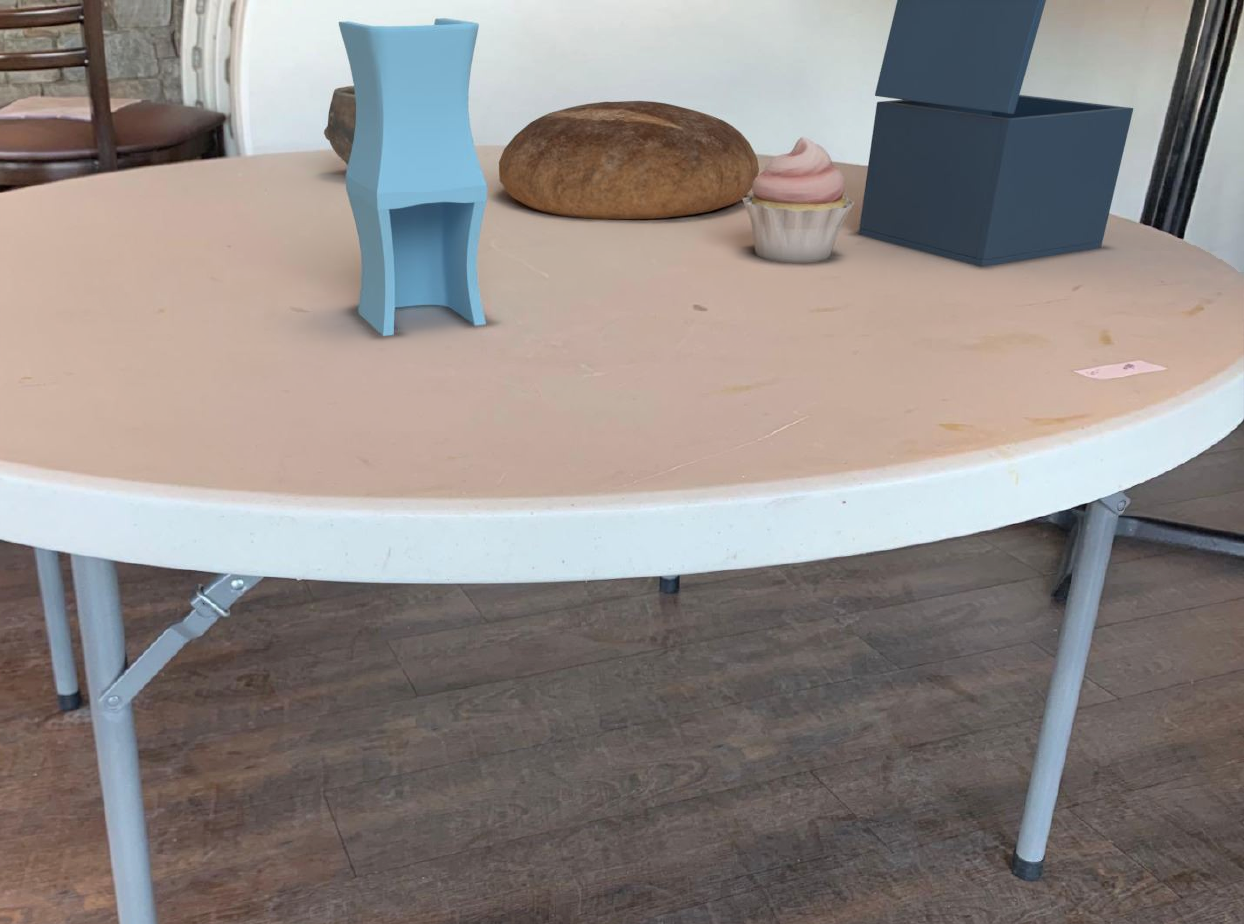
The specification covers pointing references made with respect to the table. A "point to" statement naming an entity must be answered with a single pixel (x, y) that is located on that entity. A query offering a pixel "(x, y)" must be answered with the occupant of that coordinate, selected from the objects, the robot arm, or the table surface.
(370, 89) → the blue wavy hollow column
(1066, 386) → the table surface
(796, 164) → the cupcake
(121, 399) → the table surface
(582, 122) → the bread
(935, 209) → the chest
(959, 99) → the lid
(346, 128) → the bowl
